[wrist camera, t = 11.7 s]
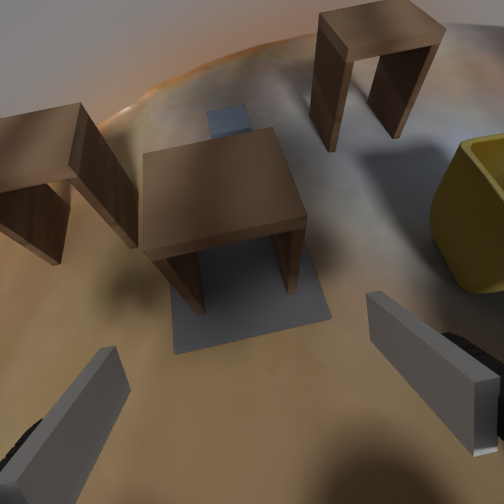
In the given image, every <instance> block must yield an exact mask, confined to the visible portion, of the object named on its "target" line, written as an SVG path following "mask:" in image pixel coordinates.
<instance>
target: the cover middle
mask: <svg viewBox="0 0 504 504" xmlns="http://www.w3.org/2000/svg"><path fill="white" fill-rule="evenodd" d="M306 221H307V213H306V211H305V208H304V206H303V203H302V201H301V198H300V195H299V193H298V190H297V188H296V185H295V183H294V180H293V178H292V175H291V173H290V170H289V167H288V165H287V162H286V160H285V157H284V155H283V152H282V150H281V147H280V145H279V142H278V139H277V137H276V134H275V132H274V129H273V127H270V128H265V129H261V130H256V131H251V132H246V133H241V134H237V135H232V136H227V137H222V138H217V139H212V140H208V141H203V142H198V143H193V144H188V145H184V146H179V147H174V148H169V149H164V150H160V151H155V152H150V153H145V154H143V252H144V253H145V254H146V255H147V256H148V257H149V259H150V260H151V261H152V262H153V263H154V265H155V266H156V267H157V268H158V269H159V271H160V272H161V273H162V274H163V275H164V277H165V278H166V279H167V280H168V281H169V283H170V284H171V285H172V286H173V287H174V288H175V290H176V291H177V292H178V293H179V294H180V296H181V297H182V298H183V299H184V300H185V302H186V303H187V304H188V305H189V306H190V308H191V309H192V310H193V311H194V312H195V314H196V315H202V314H206V310H205V302H204V293H203V285H202V277H201V269H200V261H199V253H198V251H200V250H205V249H209V248H214V247H218V246H223V245H228V244H232V243H237V242H241V241H246V240H250V239H255V238H259V237H264V236H268V235H270V236H271V239H272V243H273V246H274V250H275V253H276V257H277V260H278V263H279V267H280V270H281V274H282V277H283V281H284V284H285V287H286V291H287V294H288V295H290V294H294V293H296V291H297V284H298V277H299V270H300V263H301V256H302V249H303V242H304V235H305V228H306Z"/></svg>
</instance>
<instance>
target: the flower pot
mask: <svg viewBox="0 0 504 504" xmlns="http://www.w3.org/2000/svg"><path fill="white" fill-rule="evenodd" d="M430 222H431V229H432V234H433V238H434V241H435V243H436V245H437V246H438V248H439V250H440V252H441V253H442V255H443V257H444V259H445V261H446V262H447V264H448V266H449V268H450V270H451V272H452V273H453V275H454V277H455V279H456V281H457V283H458V285H459V286H460V287H461V288H462V289H463V290H465V291H467V292H471V293H477V294H485V293H493V292H499V291H504V133H503V134H496V135H490V136H484V137H477V138H472V139H469V140H466V141H463V142H461V143H460V145H459V147H458V149H457V151H456V153H455V155H454V157H453V159H452V161H451V163H450V165H449V167H448V169H447V171H446V173H445V175H444V177H443V179H442V181H441V183H440V185H439V187H438V189H437V191H436V193H435V196H434V198H433V201H432V205H431V212H430Z"/></svg>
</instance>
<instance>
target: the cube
mask: <svg viewBox="0 0 504 504" xmlns="http://www.w3.org/2000/svg"><path fill="white" fill-rule="evenodd" d="M207 115H208V120H209V125H210V130H211V135H212V139H217V138H222V137H227V136H232V135H237V134H241V133H246V132H251V131H252V130H251V125H250V122H249V119H248V116H247V113H246V110H245V107H244V105H239V106H234V107H229V108H224V109H219V110H214V111H209V112H207Z"/></svg>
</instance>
